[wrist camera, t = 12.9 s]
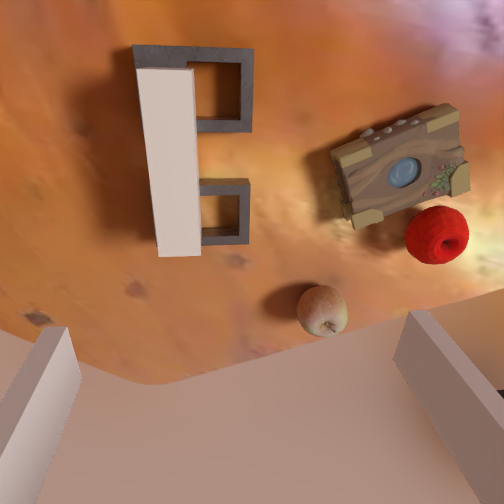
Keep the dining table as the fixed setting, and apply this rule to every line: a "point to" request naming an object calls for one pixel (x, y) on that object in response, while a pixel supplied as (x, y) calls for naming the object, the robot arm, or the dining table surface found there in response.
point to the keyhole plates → (212, 125)
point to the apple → (437, 235)
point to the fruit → (322, 311)
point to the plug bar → (172, 157)
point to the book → (401, 166)
